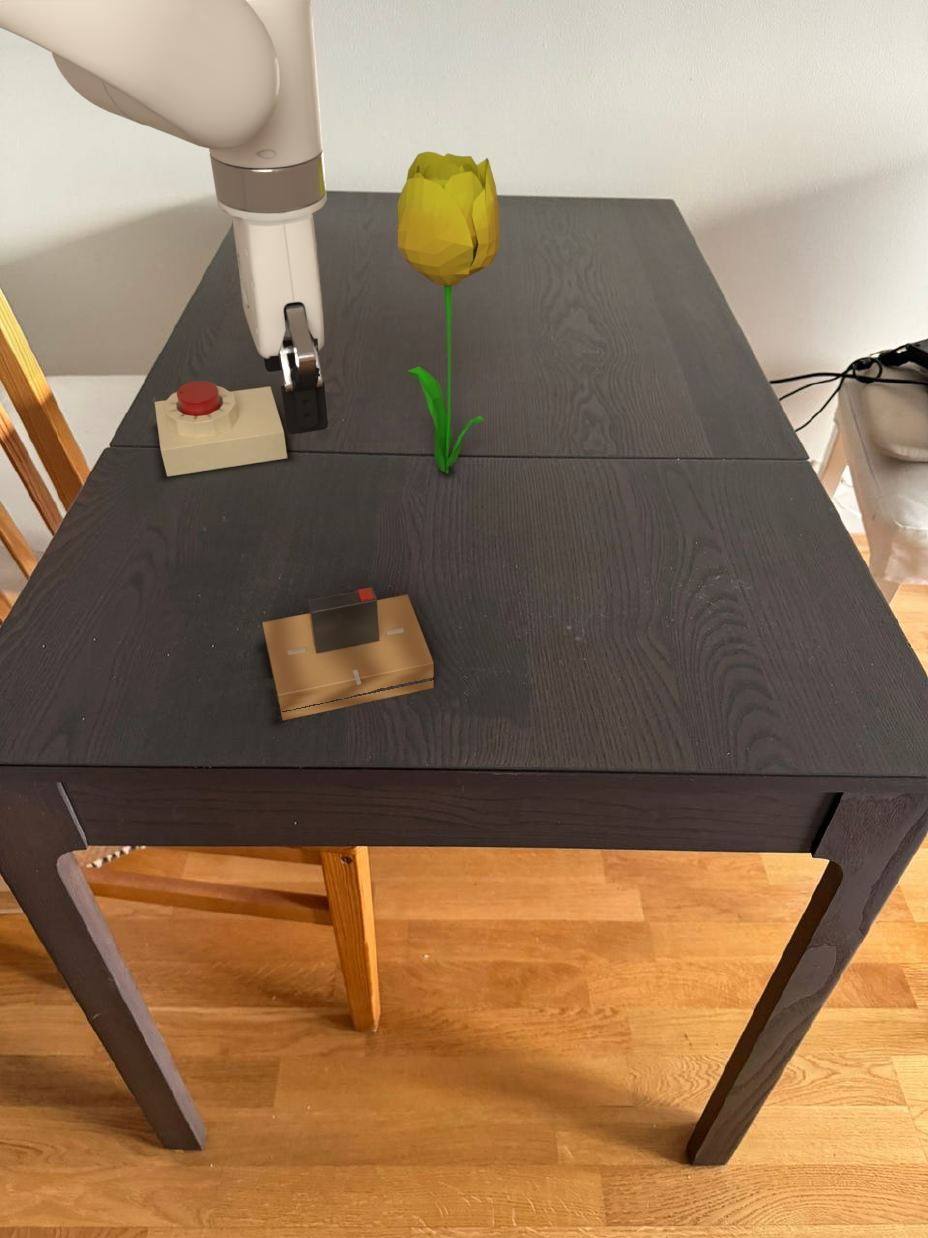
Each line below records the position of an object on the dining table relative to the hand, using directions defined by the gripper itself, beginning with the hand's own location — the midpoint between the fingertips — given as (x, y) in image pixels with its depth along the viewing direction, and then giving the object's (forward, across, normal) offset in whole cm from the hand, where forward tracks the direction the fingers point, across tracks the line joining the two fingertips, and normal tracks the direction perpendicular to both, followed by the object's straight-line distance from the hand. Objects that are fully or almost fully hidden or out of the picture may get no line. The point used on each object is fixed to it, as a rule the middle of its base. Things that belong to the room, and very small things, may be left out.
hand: (295, 397), depth 76 cm
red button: (+10, -18, -7) cm, 22 cm away
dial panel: (+15, +17, 0) cm, 22 cm away
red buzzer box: (+15, -18, -6) cm, 24 cm away
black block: (+12, +17, 0) cm, 21 cm away
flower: (+15, -6, +15) cm, 22 cm away
